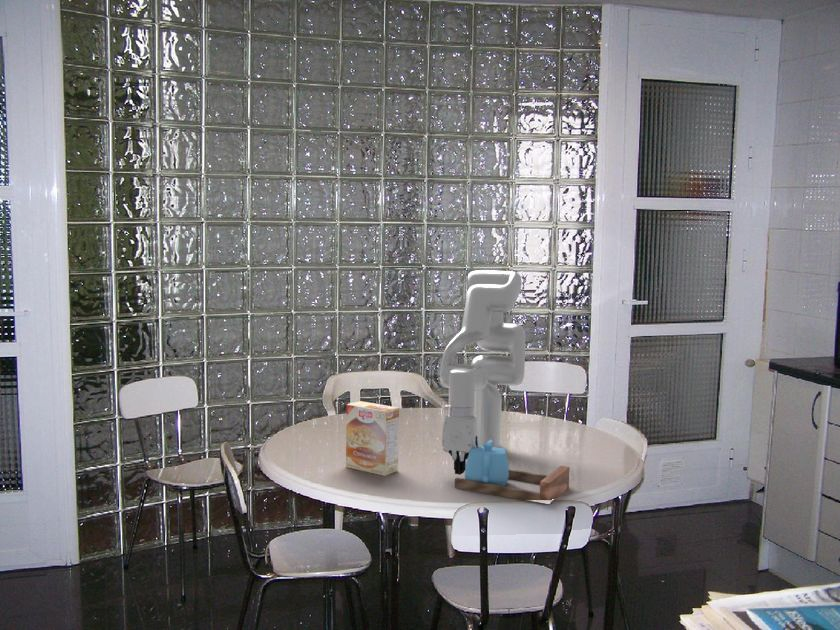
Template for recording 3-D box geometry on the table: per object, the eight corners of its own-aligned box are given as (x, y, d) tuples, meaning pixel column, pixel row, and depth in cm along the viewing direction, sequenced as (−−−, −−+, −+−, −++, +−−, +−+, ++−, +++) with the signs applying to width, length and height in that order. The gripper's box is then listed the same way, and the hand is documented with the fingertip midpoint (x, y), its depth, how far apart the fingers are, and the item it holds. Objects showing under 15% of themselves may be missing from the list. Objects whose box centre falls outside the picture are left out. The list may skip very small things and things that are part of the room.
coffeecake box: (344, 467, 239) (345, 404, 237) (359, 462, 245) (360, 400, 243) (384, 476, 231) (386, 411, 229) (398, 471, 237) (400, 406, 235)
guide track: (454, 487, 222) (455, 466, 221) (479, 472, 237) (480, 452, 237) (548, 505, 209) (549, 483, 209) (568, 487, 225) (569, 466, 224)
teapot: (509, 476, 235) (510, 438, 234) (507, 493, 217) (509, 451, 216) (467, 473, 236) (469, 435, 236) (462, 489, 219) (464, 448, 218)
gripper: (432, 410, 229) (430, 472, 231) (479, 417, 222) (477, 480, 224) (444, 406, 236) (442, 466, 238) (490, 412, 229) (488, 474, 231)
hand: (459, 473), depth 231 cm, fingers closed
